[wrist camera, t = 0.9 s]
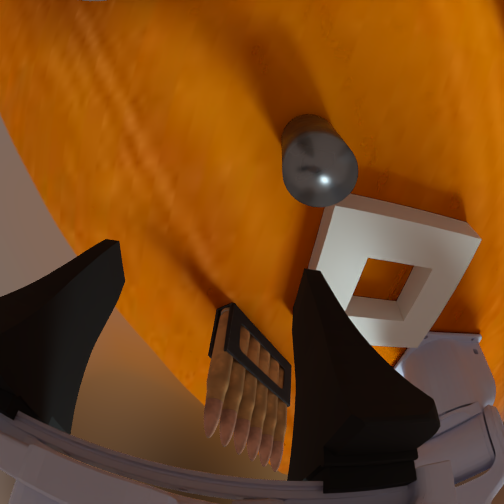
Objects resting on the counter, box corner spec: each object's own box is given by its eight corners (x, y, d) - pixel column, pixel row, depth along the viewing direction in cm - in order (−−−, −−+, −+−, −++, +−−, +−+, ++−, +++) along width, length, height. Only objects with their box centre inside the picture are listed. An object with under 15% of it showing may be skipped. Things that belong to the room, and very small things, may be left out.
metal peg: (341, 120, 18) (366, 145, 13) (330, 171, 20) (347, 212, 15) (286, 109, 18) (289, 128, 13) (277, 161, 20) (276, 200, 15)
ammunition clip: (216, 308, 27) (188, 433, 18) (233, 301, 27) (210, 430, 17) (276, 370, 32) (271, 475, 22) (291, 365, 31) (290, 472, 22)
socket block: (467, 222, 21) (481, 239, 18) (410, 328, 27) (417, 347, 25) (329, 189, 20) (335, 205, 18) (292, 316, 27) (293, 337, 25)
